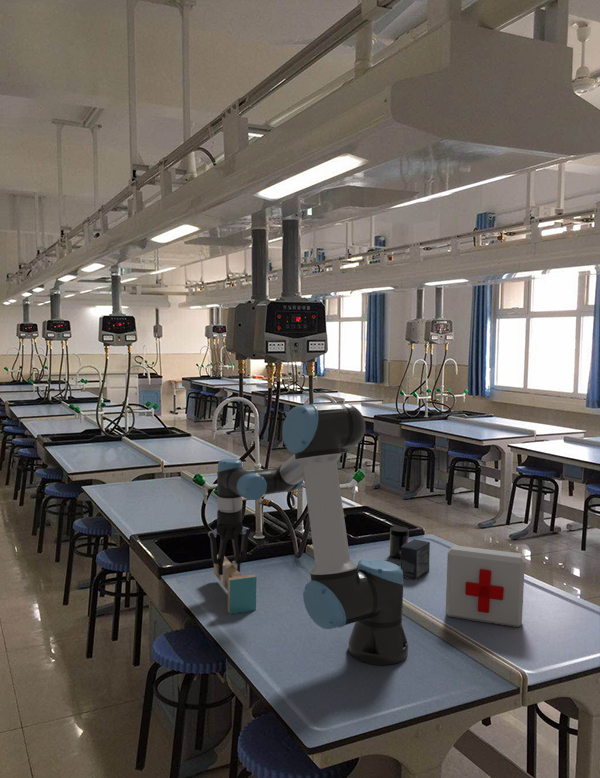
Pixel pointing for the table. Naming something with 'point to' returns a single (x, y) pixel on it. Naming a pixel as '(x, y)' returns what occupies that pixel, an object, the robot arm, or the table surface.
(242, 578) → the tile
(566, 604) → the table surface
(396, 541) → the supplement container
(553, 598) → the table surface
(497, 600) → the bevelled white case
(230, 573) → the push bar
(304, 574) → the table surface
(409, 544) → the small box
